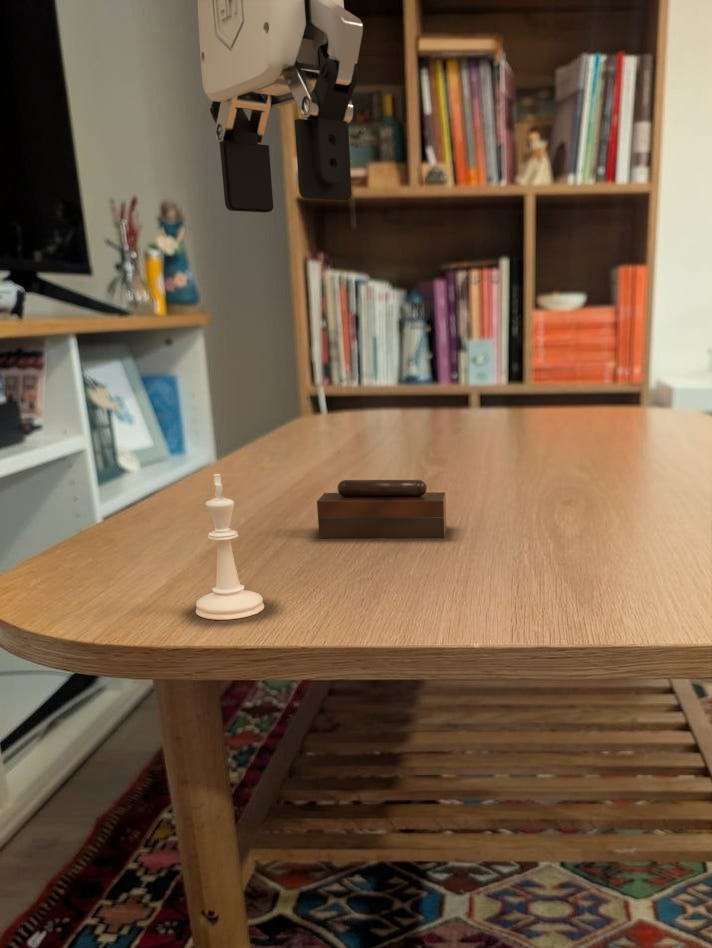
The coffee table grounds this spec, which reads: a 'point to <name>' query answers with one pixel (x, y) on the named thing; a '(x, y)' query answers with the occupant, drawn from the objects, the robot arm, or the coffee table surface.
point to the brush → (382, 510)
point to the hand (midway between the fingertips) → (285, 205)
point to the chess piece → (226, 568)
